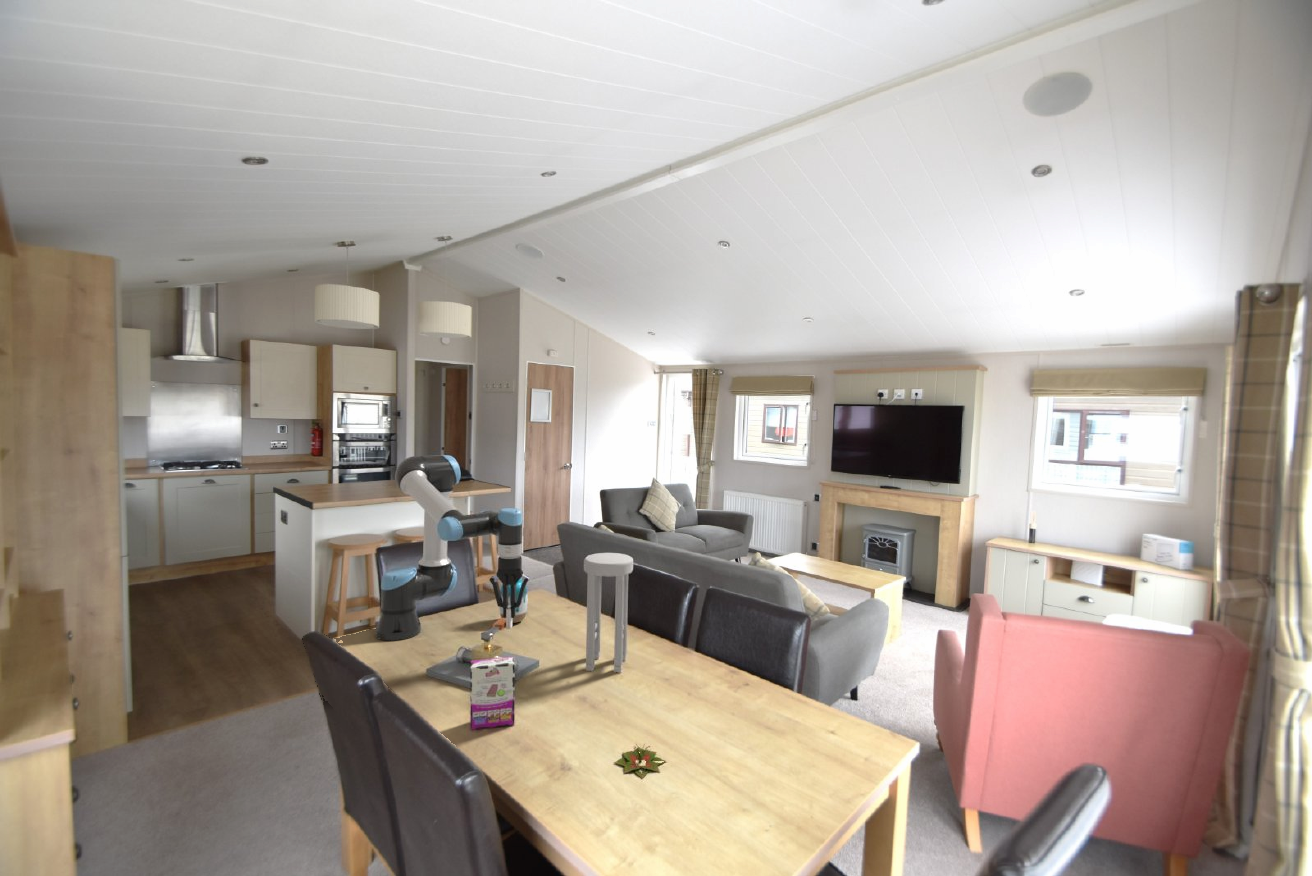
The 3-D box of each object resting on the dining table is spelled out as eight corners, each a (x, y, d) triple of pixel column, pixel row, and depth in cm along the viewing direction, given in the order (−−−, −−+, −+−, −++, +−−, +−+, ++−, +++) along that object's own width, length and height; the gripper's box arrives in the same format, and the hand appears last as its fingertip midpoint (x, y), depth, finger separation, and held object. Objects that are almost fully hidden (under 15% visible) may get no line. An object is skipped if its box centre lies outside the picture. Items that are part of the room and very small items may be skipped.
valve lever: (479, 640, 181) (479, 634, 181) (500, 622, 196) (500, 617, 196) (490, 641, 180) (490, 635, 180) (510, 623, 196) (510, 618, 196)
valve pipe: (454, 664, 185) (454, 636, 184) (468, 658, 190) (468, 630, 190) (506, 679, 175) (507, 649, 175) (519, 671, 181) (520, 642, 180)
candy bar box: (514, 716, 157) (514, 655, 157) (514, 725, 152) (515, 663, 152) (470, 721, 154) (471, 659, 154) (469, 731, 149) (470, 667, 149)
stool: (633, 656, 198) (635, 553, 197) (626, 676, 183) (629, 564, 182) (588, 653, 200) (590, 551, 199) (577, 672, 184) (579, 562, 183)
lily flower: (638, 744, 146) (638, 726, 146) (676, 763, 138) (676, 744, 138) (604, 765, 137) (604, 746, 136) (642, 787, 129) (643, 767, 129)
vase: (523, 627, 223) (524, 577, 223) (495, 626, 224) (496, 576, 223) (530, 617, 234) (530, 569, 233) (503, 616, 234) (504, 569, 233)
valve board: (426, 675, 180) (426, 668, 180) (477, 650, 200) (477, 644, 200) (491, 694, 169) (491, 687, 169) (539, 666, 189) (539, 660, 189)
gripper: (487, 558, 188) (486, 631, 189) (527, 559, 189) (526, 631, 189) (493, 553, 196) (492, 623, 197) (531, 553, 196) (531, 623, 197)
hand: (509, 627), depth 193 cm, fingers closed
